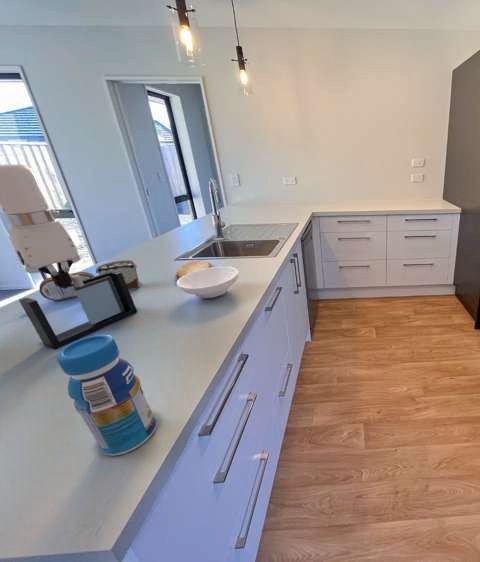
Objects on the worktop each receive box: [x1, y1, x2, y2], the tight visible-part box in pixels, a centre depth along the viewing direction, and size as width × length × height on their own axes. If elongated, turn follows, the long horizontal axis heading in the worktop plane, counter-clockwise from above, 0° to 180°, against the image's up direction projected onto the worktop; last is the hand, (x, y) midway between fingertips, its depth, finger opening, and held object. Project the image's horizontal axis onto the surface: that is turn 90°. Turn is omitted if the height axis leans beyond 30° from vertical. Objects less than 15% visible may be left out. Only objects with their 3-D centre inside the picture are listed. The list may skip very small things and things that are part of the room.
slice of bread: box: [175, 260, 212, 281], centre depth 126 cm, size 18×18×4 cm
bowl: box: [176, 266, 239, 299], centre depth 107 cm, size 20×20×7 cm
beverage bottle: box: [56, 334, 158, 456], centre depth 50 cm, size 8×8×20 cm
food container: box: [95, 259, 141, 291], centre depth 113 cm, size 12×6×10 cm, turn 111°
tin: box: [39, 271, 96, 301], centre depth 107 cm, size 15×3×8 cm, turn 130°
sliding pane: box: [71, 275, 124, 325], centre depth 88 cm, size 9×2×15 cm, turn 158°
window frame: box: [18, 270, 138, 350], centre depth 86 cm, size 21×5×14 cm, turn 158°
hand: (65, 286), depth 80 cm, fingers closed
